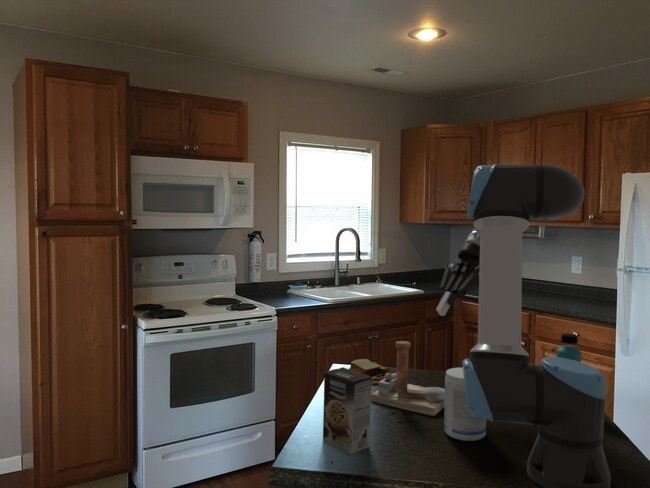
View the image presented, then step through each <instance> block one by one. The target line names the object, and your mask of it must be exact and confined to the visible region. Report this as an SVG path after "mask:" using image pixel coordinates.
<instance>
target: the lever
mask: <svg viewBox="0 0 650 488" xmlns="http://www.w3.org/2000/svg"><path fill="white" fill-rule="evenodd" d="M411 347H412V343H411V342H409V341H406V340H400V341H399V340H398V341H396V342H395V348H397V350H396V351H397V352H396V373H397V376H396V391H398V397H407V398H420V399H426V400H428V401H432V402H444V401H445V388H442V387H439V386H438V387H437V386H428V387H426V388H425V389H424V391H423V390H408V389H407V386H408V384H409V383H408V380H409V379H408V378H409V377H408V376H409V352H410V351H409V349H410V348H411Z"/></svg>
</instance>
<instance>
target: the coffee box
mask: <svg viewBox="0 0 650 488" xmlns="http://www.w3.org/2000/svg"><path fill="white" fill-rule="evenodd" d="M323 381H324V382H323V419H322V420H323V421H322V422H323V423H322V424H323V425H322V442H324V443H325V444H328V445H330V446H332V447H334V448H336V449H338V450H341V451H344V452H345V453H347V454H349V455H353V454H356V453H358V452H360V451H362V450H365V449H367V448H370V436H371V431H370V430H371V410H372V409H371V408H372V401H371V394H372V385H373V384H372V376H368V375H365V374H362V373H359V372H356V371H353V370H350V369H349V368H346V367H339V368H335V369H334V368H333V369H331V370H327V371H325V372H324V377H323Z"/></svg>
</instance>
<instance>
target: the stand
mask: <svg viewBox="0 0 650 488" xmlns="http://www.w3.org/2000/svg"><path fill="white" fill-rule="evenodd" d="M390 373H391V372H390ZM390 373H386V374H385V379H383V380H381V381H379V382H378V384H377V390H376V391H374V392H371V403H372V402H373V403H377V404H381V405H386V406H389V407H390V406H391V407H395V408H398V409H403V410H407V411H411V412H414V413H420V414H423V415H428V416H432V417H434V416H436V415H437V414H438V413H440V412H441V411H442V410H443V409H445V401H444V402H432V401H428V400H426V399H420V398H407V397H398V391H396V376H397V372H393V373H391V374H392V375H391V374H390ZM425 388H427V387H425V386H421V385H415V384H411V383H408V386H407V389H408V390H423V391H424V389H425Z"/></svg>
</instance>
